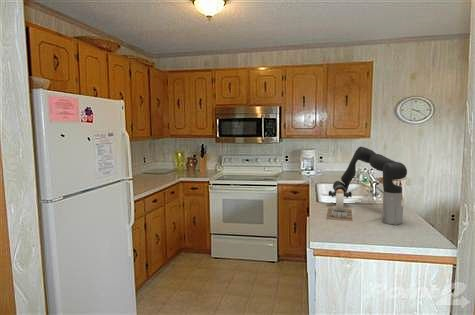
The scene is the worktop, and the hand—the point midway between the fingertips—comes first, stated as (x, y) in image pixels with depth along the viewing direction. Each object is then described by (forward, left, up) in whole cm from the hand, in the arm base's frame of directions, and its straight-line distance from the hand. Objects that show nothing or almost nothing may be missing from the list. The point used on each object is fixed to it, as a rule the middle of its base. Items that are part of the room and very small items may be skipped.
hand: (339, 196), depth 204 cm
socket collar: (-12, +14, -8) cm, 21 cm away
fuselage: (-6, +8, -8) cm, 13 cm away
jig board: (-9, +11, -9) cm, 17 cm away
